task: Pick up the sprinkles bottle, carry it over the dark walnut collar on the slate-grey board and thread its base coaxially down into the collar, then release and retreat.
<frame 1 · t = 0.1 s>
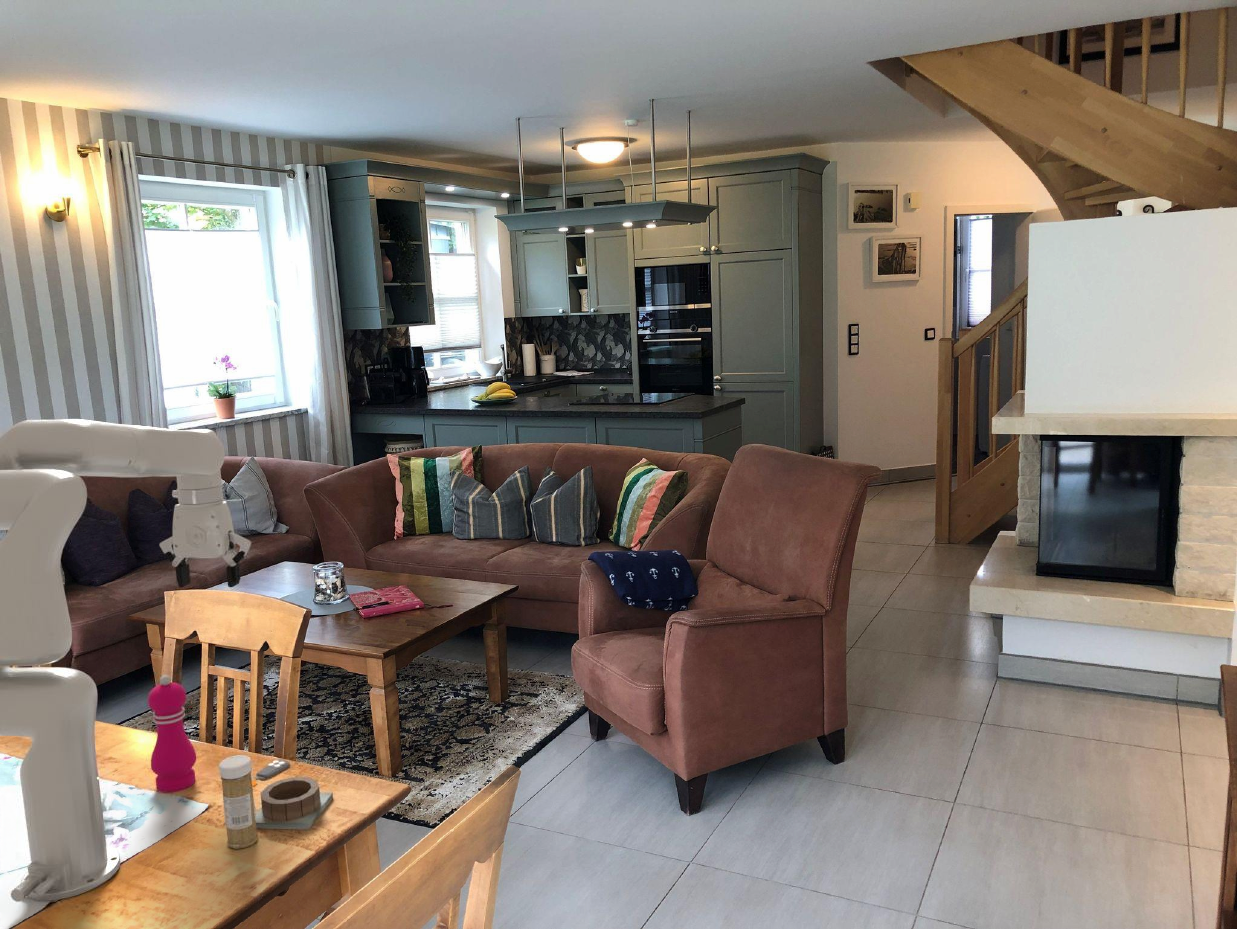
hand: (209, 585, 178), 31 cm above the table, fingers open, 9 cm apart
key chain: (258, 783, 167), on the table
pepper mill: (176, 785, 166), on the table
collar: (291, 812, 155), on the table
sprinkles bottle: (242, 843, 147), on the table
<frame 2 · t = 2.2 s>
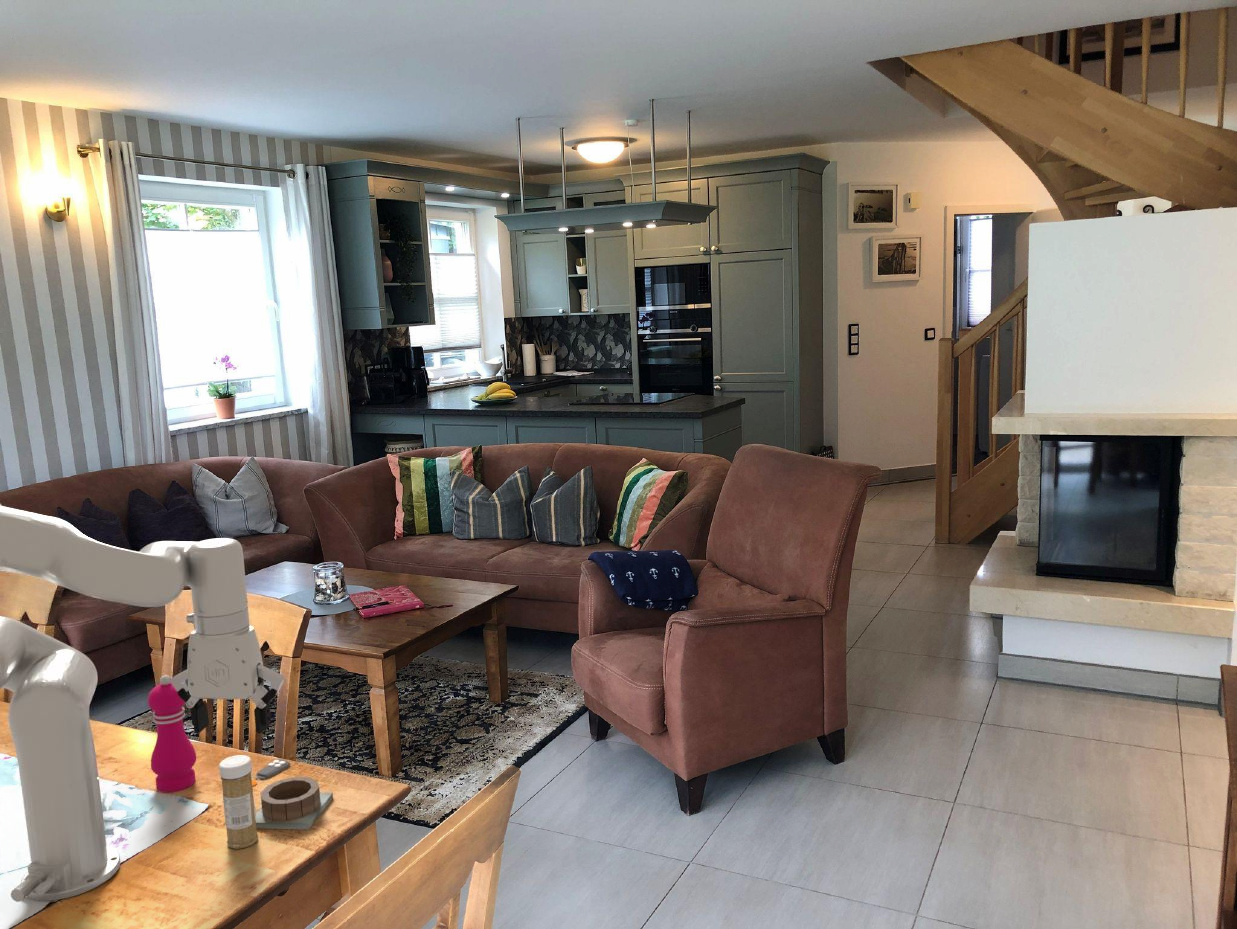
hand: (232, 729, 144), 18 cm above the table, fingers open, 9 cm apart
nothing on the table moved.
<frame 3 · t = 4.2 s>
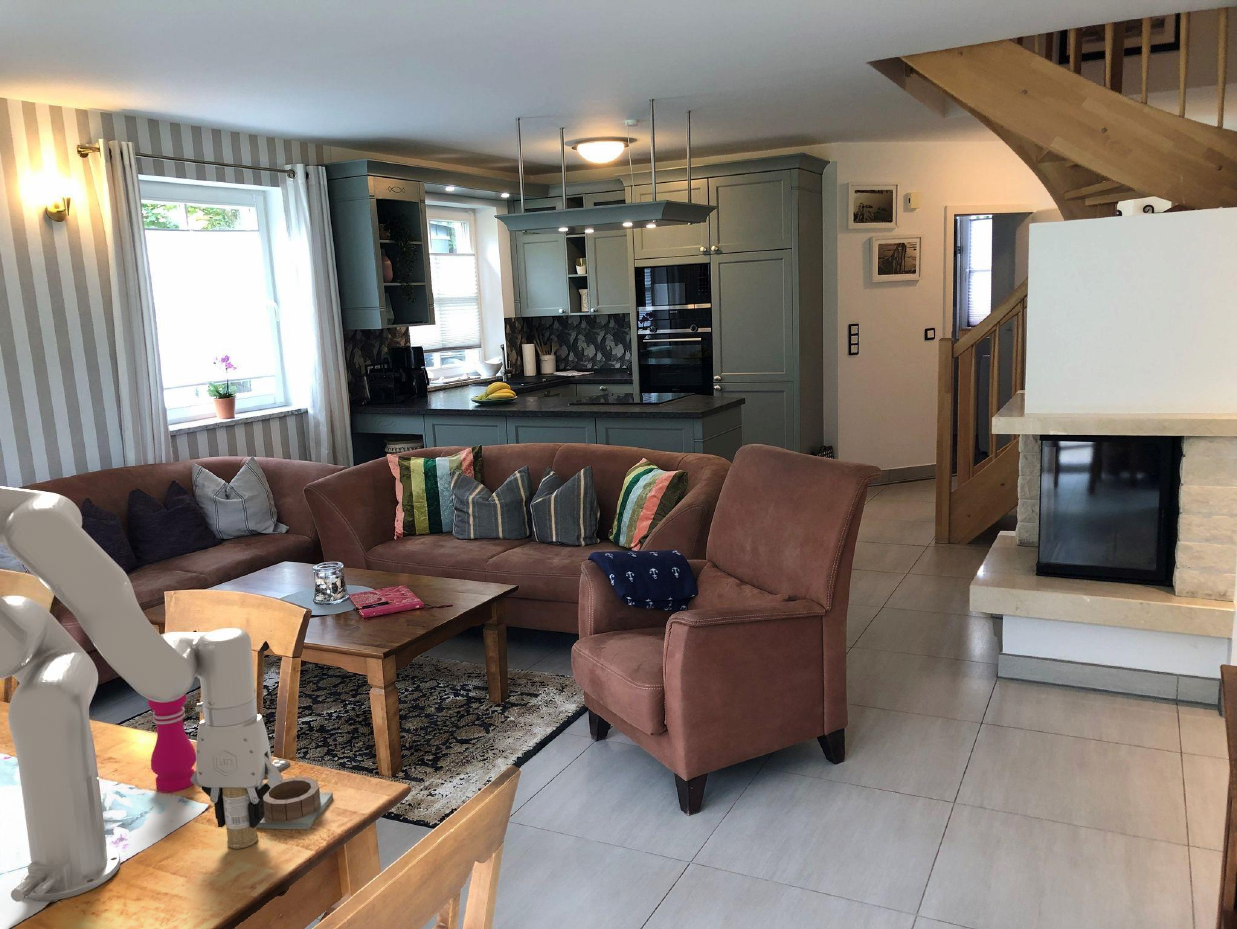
hand: (240, 821, 146), 3 cm above the table, fingers closed on sprinkles bottle, 4 cm apart
sprinkles bottle: (242, 843, 147), on the table, touching gripper
everything else where it was.
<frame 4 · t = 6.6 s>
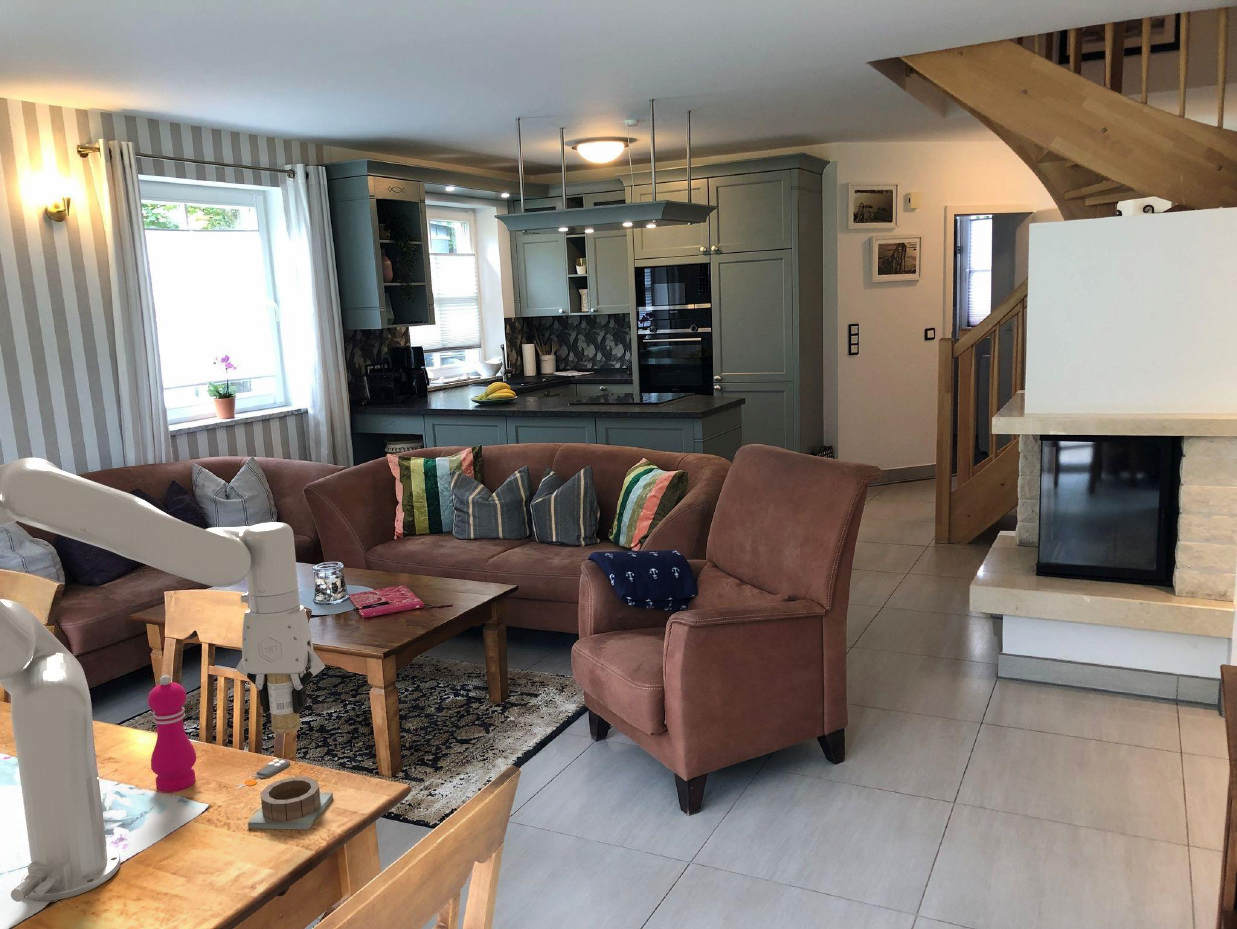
hand: (284, 709, 153), 18 cm above the table, fingers closed on sprinkles bottle, 4 cm apart
sprinkles bottle: (286, 729, 153), point 14 cm above the table, touching gripper
everything else where it was.
when the fingers open (6 cm above the table, at t = 8.9 s): sprinkles bottle drops 1 cm, resting on collar.
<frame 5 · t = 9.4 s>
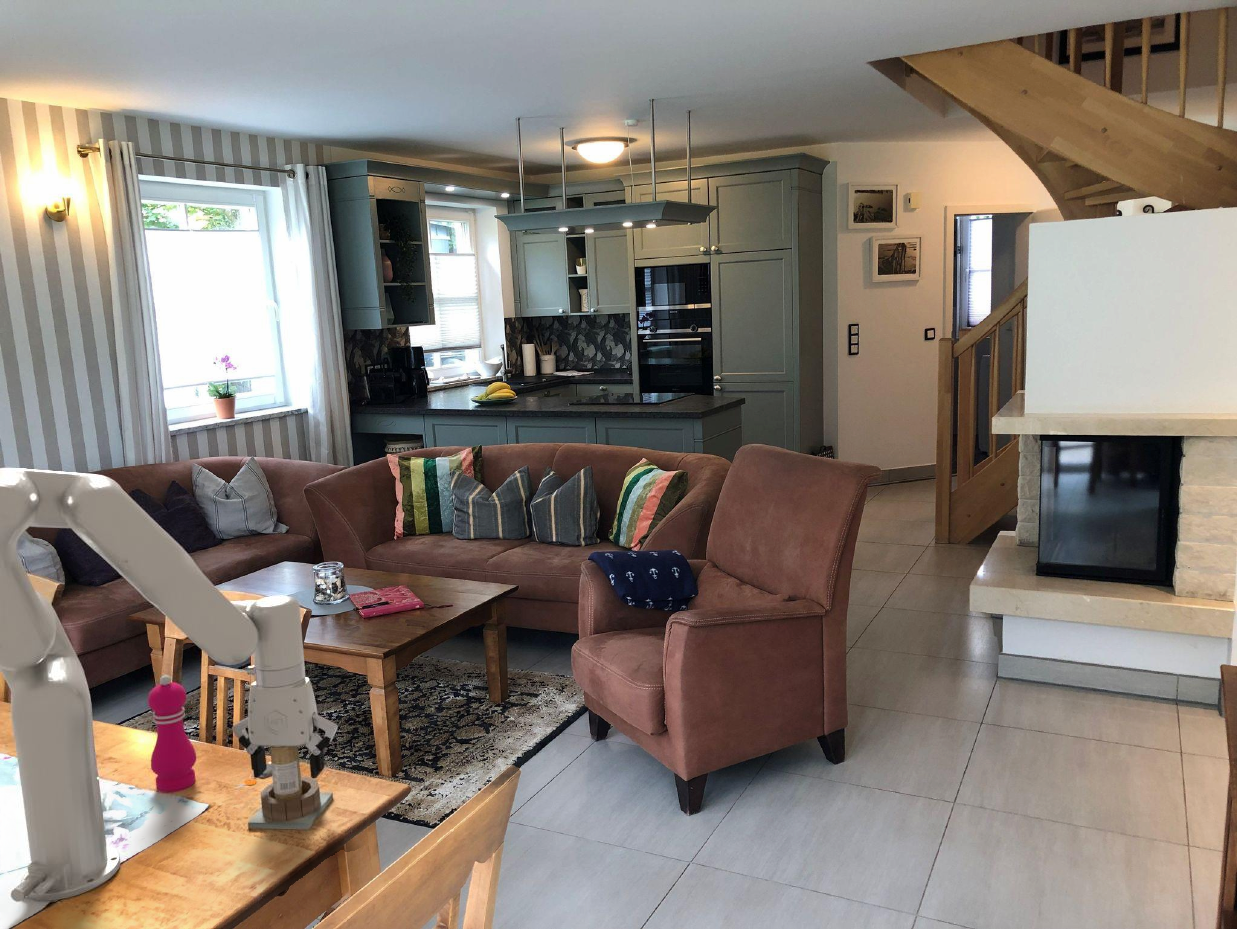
hand: (288, 774, 154), 7 cm above the table, fingers open, 9 cm apart
sprinkles bottle: (289, 808, 155), point 1 cm above the table, touching collar
everything else where it was.
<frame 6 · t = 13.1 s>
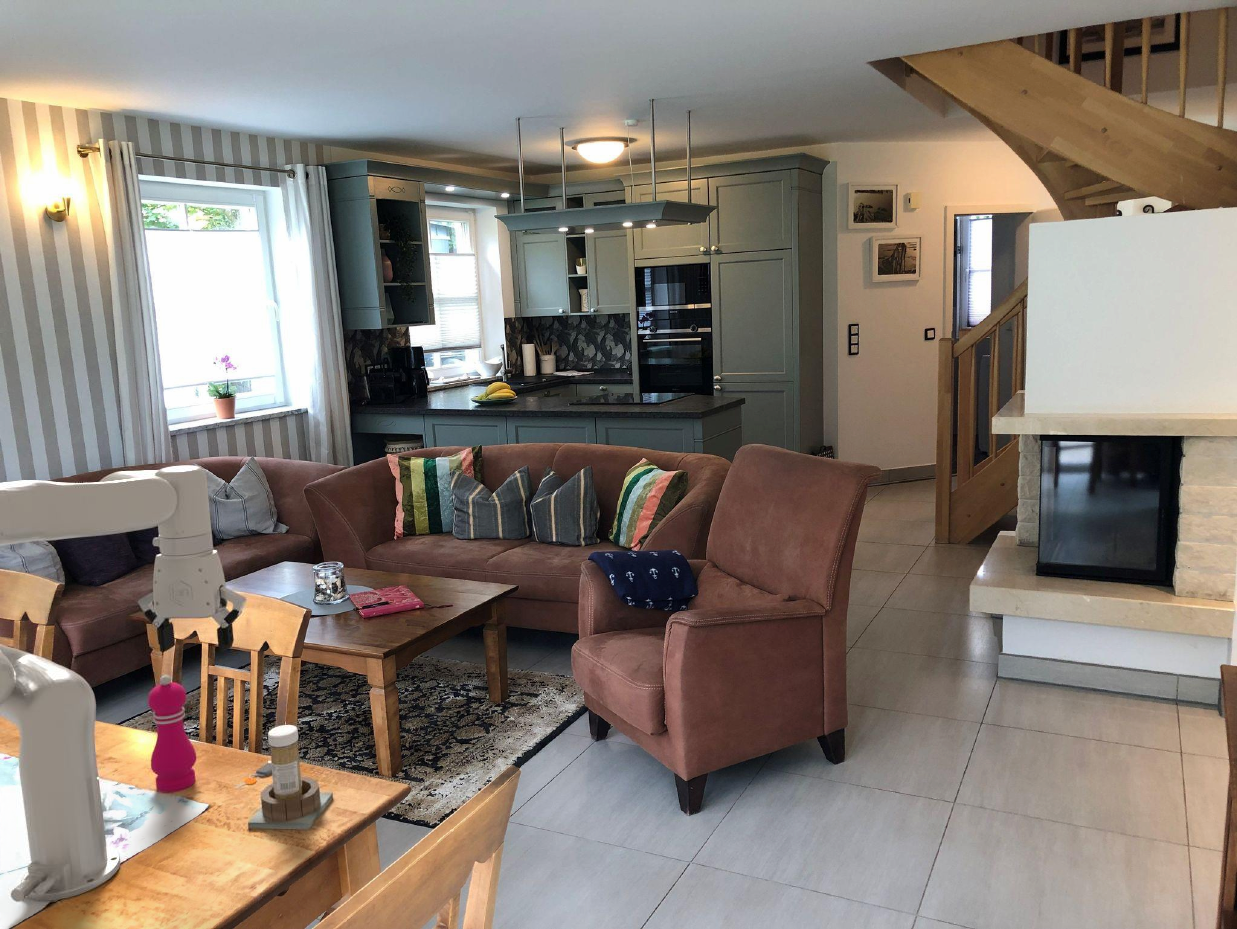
hand: (196, 649, 151), 28 cm above the table, fingers open, 9 cm apart
at the end: sprinkles bottle 0.3 cm from the collar (horizontally); sprinkles bottle point 0.8 cm above the table; sprinkles bottle tilted 0° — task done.
